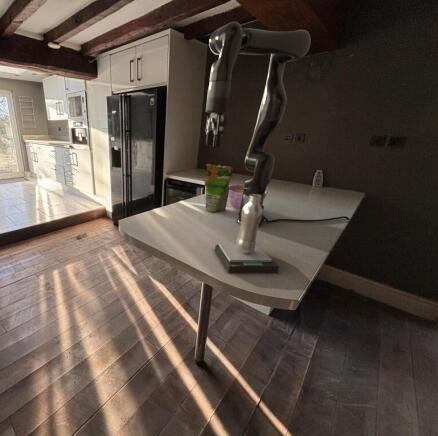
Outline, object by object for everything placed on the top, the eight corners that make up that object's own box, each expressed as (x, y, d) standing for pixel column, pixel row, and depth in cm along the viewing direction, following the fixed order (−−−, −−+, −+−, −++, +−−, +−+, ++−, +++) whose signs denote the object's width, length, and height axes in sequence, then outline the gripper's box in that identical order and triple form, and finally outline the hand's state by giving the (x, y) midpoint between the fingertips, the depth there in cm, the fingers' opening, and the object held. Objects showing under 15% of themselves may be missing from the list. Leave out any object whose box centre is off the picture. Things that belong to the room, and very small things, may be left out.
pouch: (228, 213, 123) (236, 165, 114) (207, 213, 122) (213, 165, 112) (219, 206, 133) (226, 162, 124) (199, 206, 132) (205, 162, 122)
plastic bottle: (253, 248, 82) (265, 193, 74) (254, 257, 76) (268, 199, 68) (234, 244, 84) (244, 191, 76) (234, 253, 78) (245, 197, 70)
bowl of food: (267, 217, 119) (273, 195, 114) (227, 214, 121) (231, 193, 117) (257, 205, 137) (261, 186, 132) (222, 202, 140) (225, 183, 135)
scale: (256, 250, 87) (258, 242, 86) (277, 272, 74) (279, 264, 73) (214, 250, 86) (216, 242, 85) (228, 272, 73) (229, 264, 72)
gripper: (237, 95, 73) (229, 148, 80) (221, 99, 86) (216, 144, 93) (214, 94, 73) (208, 148, 79) (202, 99, 86) (197, 144, 92)
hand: (212, 146), depth 86 cm, fingers open, 8 cm apart
